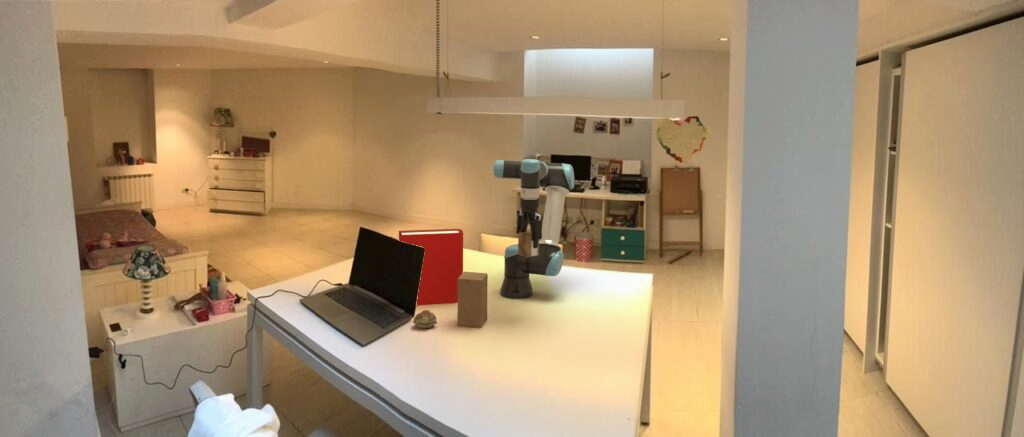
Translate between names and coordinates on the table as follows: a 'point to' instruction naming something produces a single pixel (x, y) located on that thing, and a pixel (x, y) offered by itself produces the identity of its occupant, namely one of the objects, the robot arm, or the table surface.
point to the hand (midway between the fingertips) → (528, 253)
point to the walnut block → (525, 244)
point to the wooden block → (472, 299)
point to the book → (438, 263)
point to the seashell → (425, 319)
